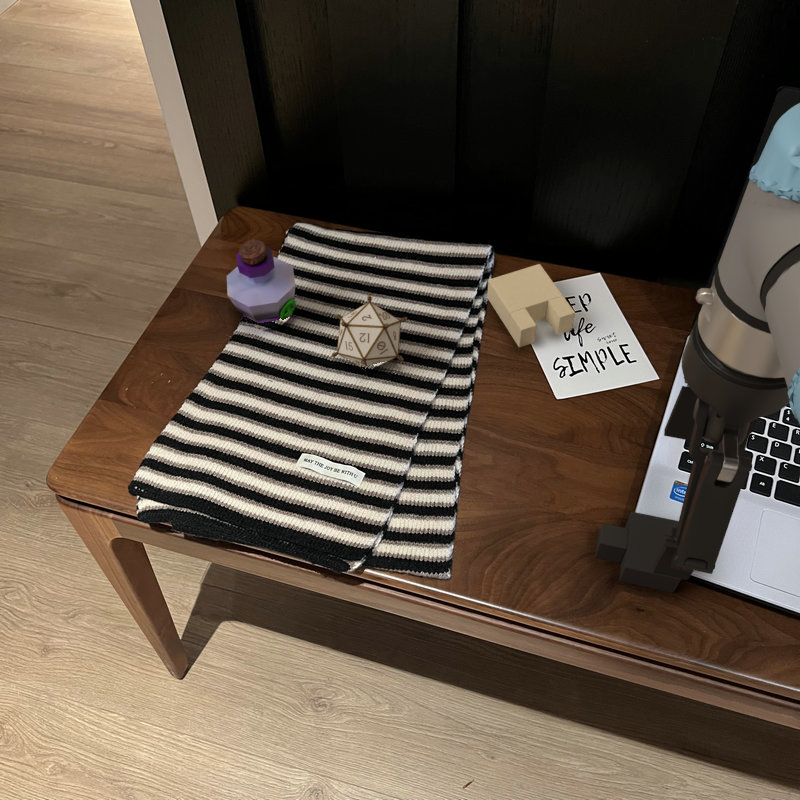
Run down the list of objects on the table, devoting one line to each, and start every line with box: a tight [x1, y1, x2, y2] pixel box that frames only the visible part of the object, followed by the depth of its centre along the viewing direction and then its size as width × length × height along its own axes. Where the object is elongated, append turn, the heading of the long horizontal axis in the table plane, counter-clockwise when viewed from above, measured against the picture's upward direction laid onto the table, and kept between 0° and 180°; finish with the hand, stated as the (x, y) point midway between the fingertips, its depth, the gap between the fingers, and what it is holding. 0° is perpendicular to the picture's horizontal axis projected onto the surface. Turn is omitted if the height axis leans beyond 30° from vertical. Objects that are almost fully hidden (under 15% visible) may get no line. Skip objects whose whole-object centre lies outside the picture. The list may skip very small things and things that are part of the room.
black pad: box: [594, 511, 682, 594], centre depth 74 cm, size 8×6×4 cm
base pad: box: [486, 263, 576, 348], centre depth 94 cm, size 9×7×4 cm
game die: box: [330, 293, 408, 370], centre depth 90 cm, size 9×8×10 cm
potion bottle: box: [226, 238, 297, 323], centre depth 93 cm, size 9×9×12 cm
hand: (675, 500), depth 66 cm, fingers open, 13 cm apart
